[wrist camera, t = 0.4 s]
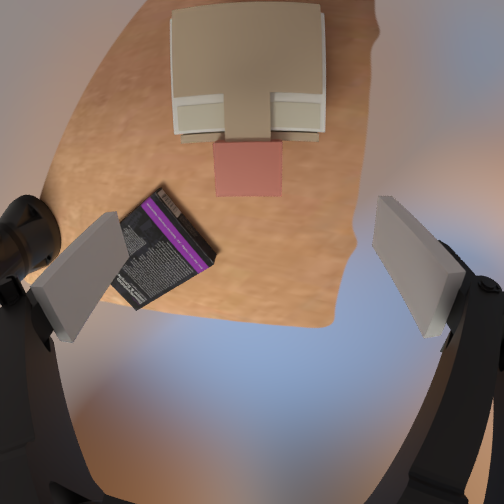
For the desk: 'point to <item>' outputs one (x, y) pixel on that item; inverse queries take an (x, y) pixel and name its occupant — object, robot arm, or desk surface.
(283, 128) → the carton
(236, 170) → the flap
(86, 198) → the desk surface
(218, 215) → the desk surface
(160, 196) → the box
